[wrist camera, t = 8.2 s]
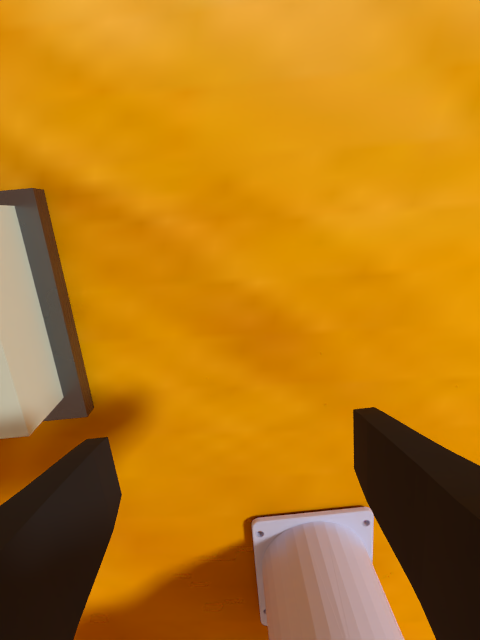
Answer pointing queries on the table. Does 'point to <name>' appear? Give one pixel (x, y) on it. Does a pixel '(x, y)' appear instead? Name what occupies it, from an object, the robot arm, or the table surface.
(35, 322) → the hollow breeze brick
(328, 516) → the robot arm
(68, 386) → the base
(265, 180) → the table surface
